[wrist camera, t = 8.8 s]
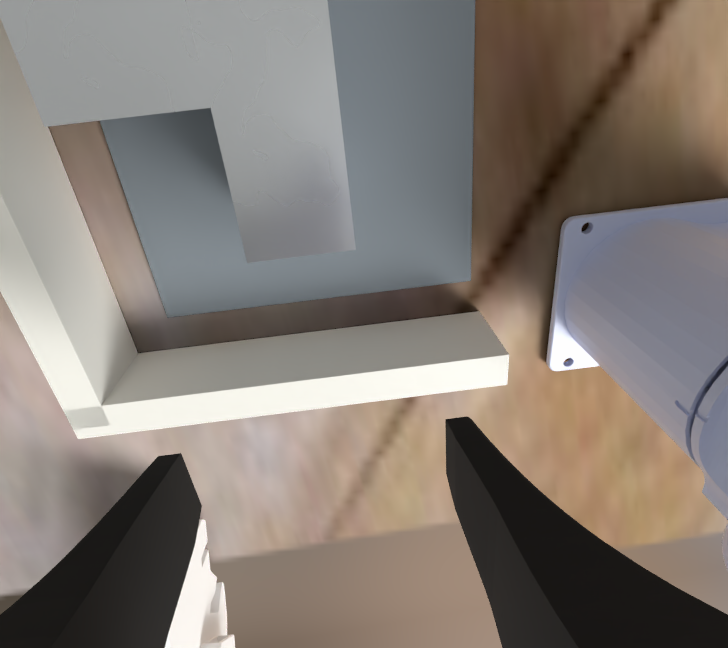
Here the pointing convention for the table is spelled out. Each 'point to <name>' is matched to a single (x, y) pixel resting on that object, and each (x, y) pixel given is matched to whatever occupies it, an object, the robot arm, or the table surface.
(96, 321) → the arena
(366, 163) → the mat
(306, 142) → the bracket
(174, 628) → the white block
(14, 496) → the table surface
